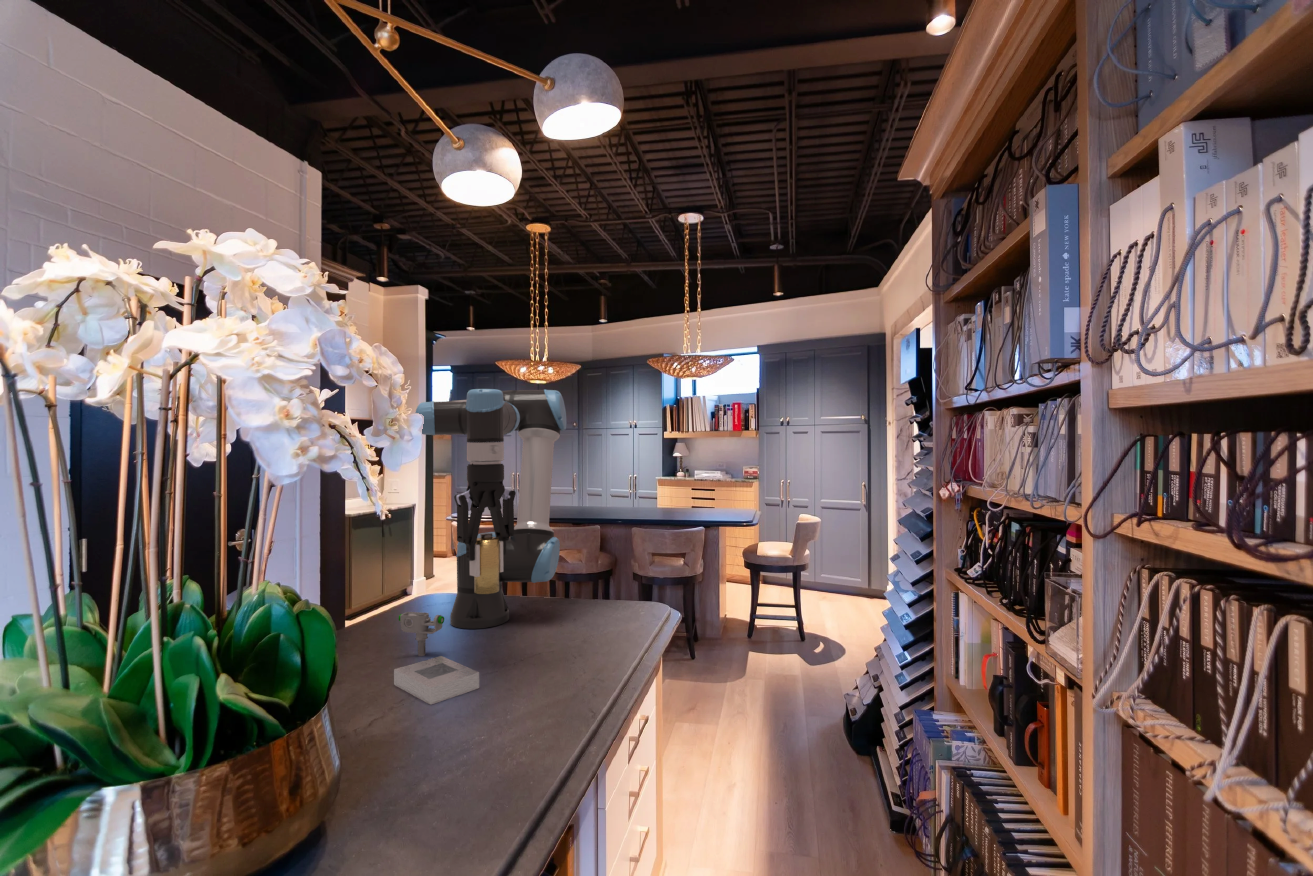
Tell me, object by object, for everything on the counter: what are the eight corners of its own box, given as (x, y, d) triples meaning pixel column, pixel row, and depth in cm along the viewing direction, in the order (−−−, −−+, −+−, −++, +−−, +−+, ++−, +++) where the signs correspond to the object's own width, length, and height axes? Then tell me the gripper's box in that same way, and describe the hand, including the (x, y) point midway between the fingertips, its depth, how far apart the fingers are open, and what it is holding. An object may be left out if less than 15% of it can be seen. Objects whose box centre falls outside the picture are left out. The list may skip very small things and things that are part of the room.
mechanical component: (439, 663, 137) (438, 617, 137) (396, 660, 140) (396, 615, 140) (446, 658, 140) (446, 613, 140) (404, 655, 142) (404, 611, 142)
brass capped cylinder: (469, 591, 133) (469, 534, 133) (490, 587, 136) (490, 531, 136) (483, 595, 129) (482, 536, 129) (503, 590, 133) (503, 533, 133)
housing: (394, 689, 123) (393, 669, 123) (441, 675, 130) (441, 655, 130) (430, 710, 114) (430, 688, 114) (479, 693, 121) (479, 672, 121)
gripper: (456, 465, 124) (457, 584, 124) (531, 461, 137) (532, 568, 137) (436, 464, 129) (437, 578, 129) (511, 460, 142) (512, 564, 142)
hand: (486, 573), depth 133 cm, fingers closed on brass capped cylinder, 5 cm apart
